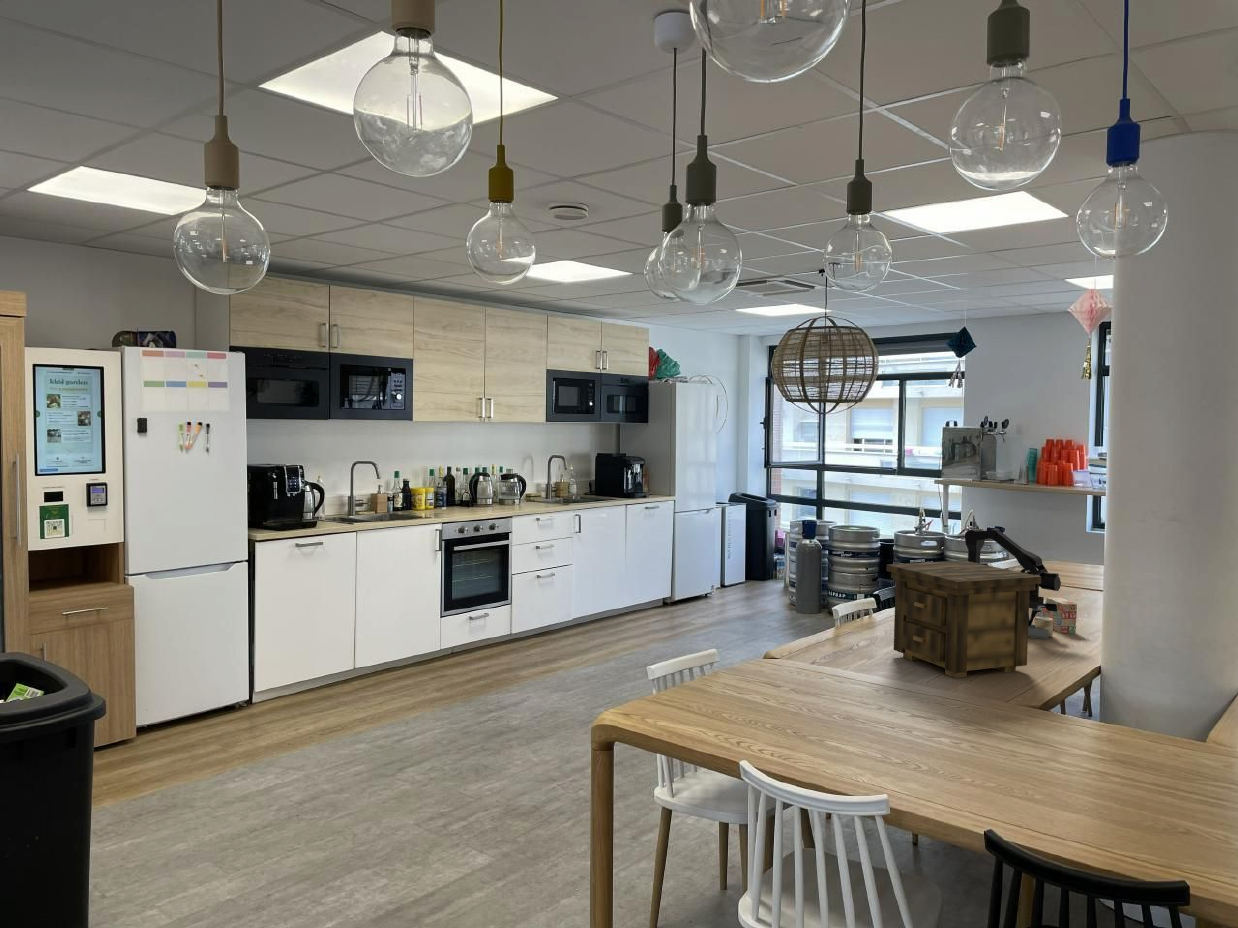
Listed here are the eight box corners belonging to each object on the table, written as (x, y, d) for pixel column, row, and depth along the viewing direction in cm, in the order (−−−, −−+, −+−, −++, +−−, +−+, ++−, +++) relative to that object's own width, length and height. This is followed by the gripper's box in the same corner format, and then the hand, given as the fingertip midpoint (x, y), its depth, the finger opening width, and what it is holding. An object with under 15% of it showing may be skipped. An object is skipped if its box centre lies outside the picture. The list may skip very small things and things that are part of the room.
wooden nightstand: (1037, 673, 284) (1041, 576, 283) (954, 683, 272) (957, 581, 271) (961, 647, 317) (964, 560, 316) (883, 655, 305) (886, 564, 303)
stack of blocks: (1033, 621, 364) (1034, 592, 364) (1048, 621, 364) (1049, 593, 364) (1060, 633, 343) (1062, 603, 342) (1076, 633, 343) (1077, 603, 342)
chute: (992, 633, 340) (992, 624, 340) (992, 628, 348) (992, 620, 348) (1048, 639, 332) (1048, 630, 332) (1046, 634, 340) (1047, 625, 340)
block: (1035, 634, 335) (1036, 619, 335) (1034, 631, 341) (1035, 616, 340) (1052, 636, 333) (1053, 620, 333) (1051, 632, 338) (1052, 617, 338)
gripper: (1005, 588, 334) (1004, 627, 335) (1058, 592, 327) (1057, 632, 327) (1005, 583, 344) (1003, 621, 345) (1056, 587, 337) (1055, 627, 338)
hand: (1029, 625), depth 339 cm, fingers closed
